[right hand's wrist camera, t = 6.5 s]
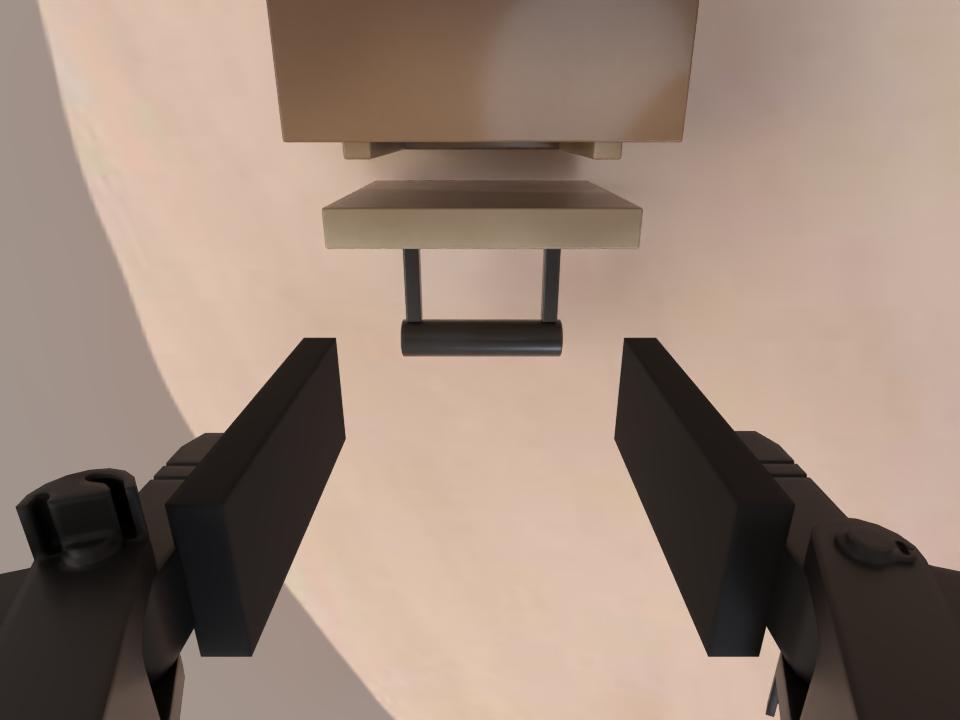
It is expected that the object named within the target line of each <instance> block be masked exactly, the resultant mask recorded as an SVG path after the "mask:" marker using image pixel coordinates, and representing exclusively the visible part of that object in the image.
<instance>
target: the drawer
mask: <svg viewBox="0 0 960 720" xmlns="http://www.w3.org/2000/svg"><path fill="white" fill-rule="evenodd" d="M403 149H560V150H564V151H567V152H571V153H574V154H578V155H582V156H585V157H589V158H592V159H620V158H621V151H622V142H343V153H344V158H345V159H372V158H376V157H379V156H383V155H386V154H390V153H393V152H396V151H400V150H403ZM642 213H643V209H642V208H641V207H639V206H637V205H635V204H633V203H631V202H629V201H627V200H625V199H623V198H621V197H619V196H617V195H615V194H613V193H611V192H609V191H607V190H605V189H603V188H601V187H599V186H597V185H595V184H593V183H591V182H589V181H375V182H373V183H371V184H369V185H367V186H365V187H363V188H361V189H359V190H357V191H355V192H353V193H351V194H349V195H347V196H345V197H344V198H342V199H340V200H338V201H336V202H334V203H332V204H330V205H328V206H326V207H324V208H322V216H323V226H324V236H325V246H326V248H327V249H403V260H404V281H405V301H406V319H404V320H403V321H402V326H401V349H402V354H403V356H560V355H561V352H562V344H563V331H562V323H561V320H557V312H558V292H559V273H560V254H561V249H637V248H639V242H640V233H641V223H642ZM420 249H544V253H543V278H542V302H541V319H542V320H473V319H422V317H423V315H422V289H421V263H420Z"/></svg>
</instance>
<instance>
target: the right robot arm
mask: <svg viewBox="0 0 960 720" xmlns="http://www.w3.org/2000/svg"><path fill="white" fill-rule="evenodd" d="M345 439H346V437H345V427H344V416H343V406H342V396H341V386H340V375H339V365H338V355H337V345H336V338H303V340H302V341H301V342H300V343H299V344H298V346H297V347H296V348H295V349H294V350H293V351H292V353H291V354H290V355H289V356H288V357H287V359H286V360H285V361H284V362H283V363H282V365H281V366H280V367H279V368H278V369H277V371H276V372H275V373H274V374H273V375H272V377H271V378H270V379H269V380H268V381H267V382H266V384H265V385H264V386H263V387H262V388H261V390H260V391H259V392H258V393H257V394H256V396H255V397H254V398H253V399H252V400H251V402H250V403H249V404H248V405H247V406H246V408H245V409H244V410H243V411H242V412H241V413H240V415H239V416H238V417H237V418H236V419H235V421H234V422H233V423H232V424H231V425H230V427H229V428H228V429H227V430H226V431H225V433H204V434H203V435H201V436H199V437H197V438H196V439H194V440H192V441H191V442H189V443H187V444H185V445H184V446H182V447H181V448H180V449H179V450H178V451H177V452H176V453H175V454H174V455H173V456H172V457H171V458H170V460H169V461H168V462H167V463H166V466H163V467H162V468H161V469H160V470H159V471H158V472H157V473H156V474H155V476H154V480H150V481H149V482H148V483H147V484H146V485H145V486H144V487H143V488H142V489H141V491H140V492H139V493H138V489H137V486H136V482H135V478H134V476H132V475H131V474H129V473H128V472H126V471H124V470H117V469H111V468H107V469H94V470H87V471H83V472H79V473H75V474H71V475H67V476H64V477H62V478H59V479H57V480H54V481H52V482H49V483H47V484H45V485H43V486H41V487H40V488H38V489H36V490H35V491H33V492H31V493H30V494H28V495H27V496H26V497H25V498H24V499H23V500H22V501H21V502H20V503H19V504H18V505H17V506H16V510H17V512H18V515H19V518H20V521H21V524H22V526H23V529H24V532H25V535H26V538H27V541H28V543H29V546H30V549H31V552H32V555H33V557H34V562H33V564H32V566H31V568H28V569H23V570H18V571H13V572H8V573H3V574H0V720H180V712H181V703H182V696H183V687H184V679H185V676H184V669H183V664H182V660H181V656H180V652H181V650H182V648H183V647H184V645H185V643H186V641H187V639H188V638H189V636H190V634H191V633H192V631H193V629H195V634H196V638H197V642H198V646H199V650H200V654H201V657H251V656H252V655H253V652H254V650H255V648H256V645H257V643H258V641H259V638H260V636H261V634H262V631H263V629H264V627H265V624H266V622H267V620H268V618H269V615H270V613H271V610H272V608H273V606H274V604H275V601H276V599H277V597H278V594H279V592H280V590H281V587H282V585H283V583H284V580H285V578H286V576H287V574H288V571H289V569H290V567H291V564H292V562H293V560H294V557H295V555H296V553H297V550H298V548H299V546H300V543H301V541H302V539H303V536H304V534H305V532H306V530H307V527H308V525H309V523H310V520H311V518H312V516H313V513H314V511H315V509H316V506H317V504H318V502H319V499H320V497H321V495H322V493H323V490H324V488H325V486H326V483H327V481H328V479H329V476H330V474H331V472H332V469H333V467H334V465H335V462H336V460H337V458H338V455H339V453H340V451H341V449H342V446H343V444H344V442H345ZM614 439H615V442H616V444H617V446H618V449H619V451H620V453H621V456H622V458H623V460H624V462H625V465H626V467H627V469H628V472H629V474H630V476H631V479H632V481H633V483H634V486H635V488H636V490H637V493H638V495H639V497H640V499H641V502H642V504H643V506H644V509H645V511H646V513H647V516H648V518H649V520H650V523H651V525H652V527H653V530H654V532H655V534H656V537H657V539H658V541H659V543H660V546H661V548H662V550H663V553H664V555H665V557H666V560H667V562H668V564H669V567H670V569H671V571H672V574H673V576H674V578H675V581H676V583H677V585H678V587H679V590H680V592H681V594H682V597H683V599H684V601H685V604H686V606H687V608H688V611H689V613H690V615H691V618H692V620H693V622H694V624H695V627H696V629H697V631H698V634H699V636H700V638H701V641H702V643H703V645H704V648H705V650H706V652H707V655H708V657H759V654H760V650H761V646H762V642H763V638H764V634H765V629H766V626H767V628H768V630H769V631H770V633H771V635H772V637H773V638H774V640H775V642H776V644H777V645H778V647H779V649H780V650H781V652H780V656H779V660H778V664H777V667H776V671H775V675H774V679H773V683H772V687H771V691H770V695H769V698H768V703H767V709H766V715H769V716H773V717H774V715H775V711H776V707H777V704H778V703H779V710H780V718H781V720H960V571H955V570H950V569H945V568H940V567H935V566H931V565H928V563H927V561H926V559H925V558H924V557H923V555H922V554H921V553H920V552H919V550H918V549H917V548H916V547H915V546H914V545H913V544H911V543H910V542H908V541H907V540H906V539H904V538H903V537H901V536H900V535H899V534H897V533H895V532H892V531H890V530H888V529H886V528H884V527H882V526H880V525H877V524H874V523H870V522H866V521H863V520H859V519H854V518H848V517H847V516H846V515H845V514H844V513H843V512H842V511H841V510H840V509H839V508H838V507H837V506H836V505H835V504H834V503H833V502H832V500H831V499H830V498H829V497H828V496H827V495H826V494H825V493H824V492H823V491H822V490H821V489H820V488H819V487H818V486H817V485H816V484H815V482H814V481H813V480H812V479H811V478H807V474H806V473H805V472H804V471H803V470H802V469H801V468H800V467H799V465H798V464H794V460H793V459H792V458H791V457H790V456H789V455H788V454H787V453H786V452H785V451H784V450H783V449H782V447H781V446H780V445H778V444H777V443H775V442H773V441H771V440H770V439H768V438H766V437H765V436H763V435H761V434H759V433H758V432H756V431H734V430H733V429H732V428H731V427H730V425H729V424H728V423H727V422H726V421H725V419H724V418H723V417H722V416H721V415H720V413H719V412H718V411H717V410H716V409H715V408H714V406H713V405H712V404H711V403H710V402H709V400H708V399H707V398H706V397H705V396H704V394H703V393H702V392H701V391H700V390H699V388H698V387H697V386H696V385H695V384H694V382H693V381H692V380H691V379H690V378H689V377H688V375H687V374H686V373H685V372H684V371H683V369H682V368H681V367H680V366H679V365H678V363H677V362H676V361H675V360H674V359H673V357H672V356H671V355H670V354H669V353H668V351H667V350H666V349H665V348H664V347H663V346H662V344H661V343H660V342H659V341H658V340H657V338H624V344H623V355H622V365H621V375H620V385H619V396H618V406H617V416H616V426H615V437H614Z"/></svg>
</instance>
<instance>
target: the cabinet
mask: <svg viewBox="0 0 960 720" xmlns="http://www.w3.org/2000/svg"><path fill="white" fill-rule="evenodd" d="M266 1H267V9H268V18H269V26H270V35H271V43H272V52H273V60H274V69H275V77H276V85H277V94H278V102H279V111H280V119H281V128H282V136H283V141H284V142H681V141H682V138H683V130H684V121H685V113H686V105H687V97H688V88H689V80H690V72H691V64H692V55H693V47H694V39H695V31H696V22H697V14H698V6H699V0H266Z"/></svg>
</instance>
